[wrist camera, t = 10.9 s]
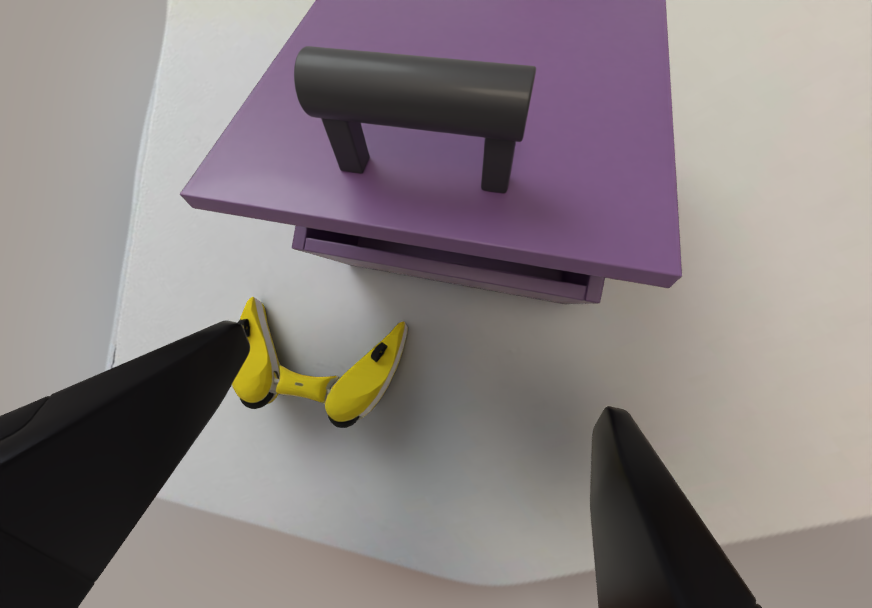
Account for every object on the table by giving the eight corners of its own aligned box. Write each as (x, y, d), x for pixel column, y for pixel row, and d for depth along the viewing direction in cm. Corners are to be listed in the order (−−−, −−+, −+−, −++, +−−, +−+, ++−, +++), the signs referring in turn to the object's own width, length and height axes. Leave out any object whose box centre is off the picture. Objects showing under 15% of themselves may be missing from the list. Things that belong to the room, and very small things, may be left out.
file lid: (669, 289, 9) (791, 176, 6) (192, 208, 11) (79, 91, 8) (658, 17, 14) (719, -126, 11) (334, -5, 16) (303, -129, 13)
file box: (566, 304, 21) (600, 304, 14) (348, 264, 23) (290, 248, 16) (604, 107, 20) (657, 15, 14) (381, 84, 22) (335, -6, 16)
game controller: (235, 405, 23) (197, 397, 19) (271, 311, 25) (242, 290, 22) (389, 437, 21) (374, 435, 18) (412, 334, 23) (403, 315, 20)
